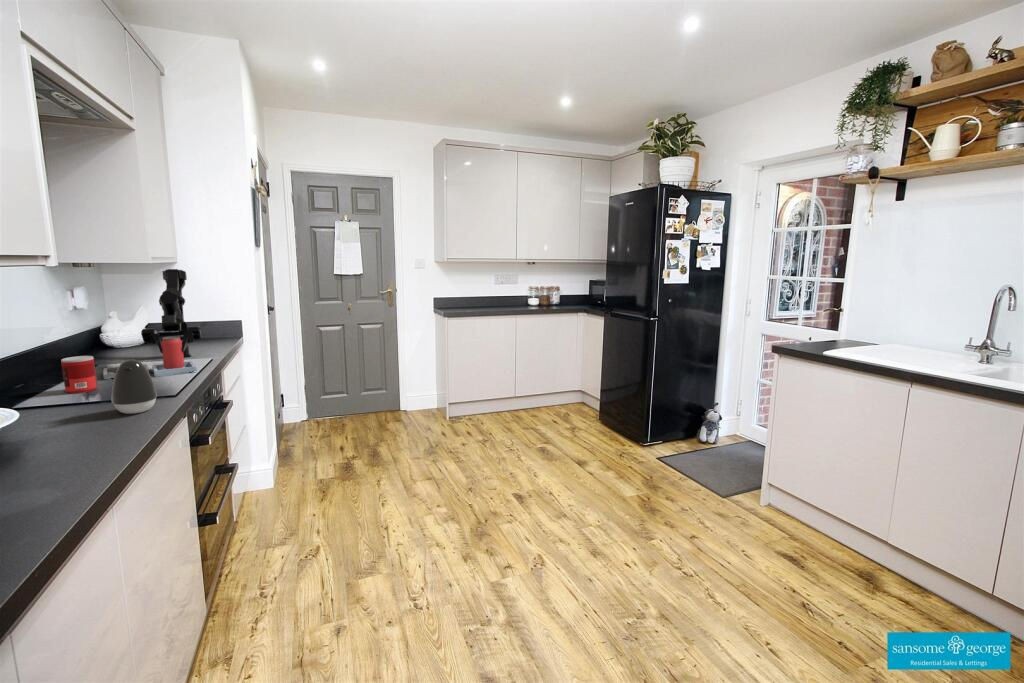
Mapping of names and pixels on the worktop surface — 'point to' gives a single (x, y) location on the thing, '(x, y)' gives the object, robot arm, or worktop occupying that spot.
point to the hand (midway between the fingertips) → (172, 351)
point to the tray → (161, 371)
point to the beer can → (172, 352)
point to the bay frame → (114, 369)
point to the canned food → (79, 374)
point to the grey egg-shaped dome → (133, 388)
